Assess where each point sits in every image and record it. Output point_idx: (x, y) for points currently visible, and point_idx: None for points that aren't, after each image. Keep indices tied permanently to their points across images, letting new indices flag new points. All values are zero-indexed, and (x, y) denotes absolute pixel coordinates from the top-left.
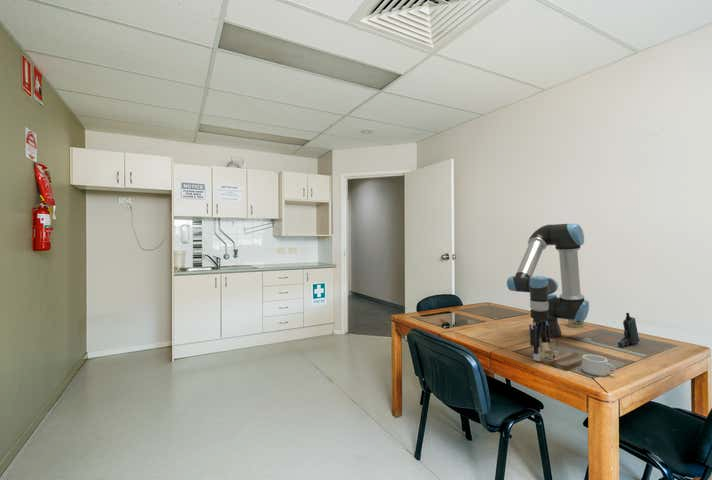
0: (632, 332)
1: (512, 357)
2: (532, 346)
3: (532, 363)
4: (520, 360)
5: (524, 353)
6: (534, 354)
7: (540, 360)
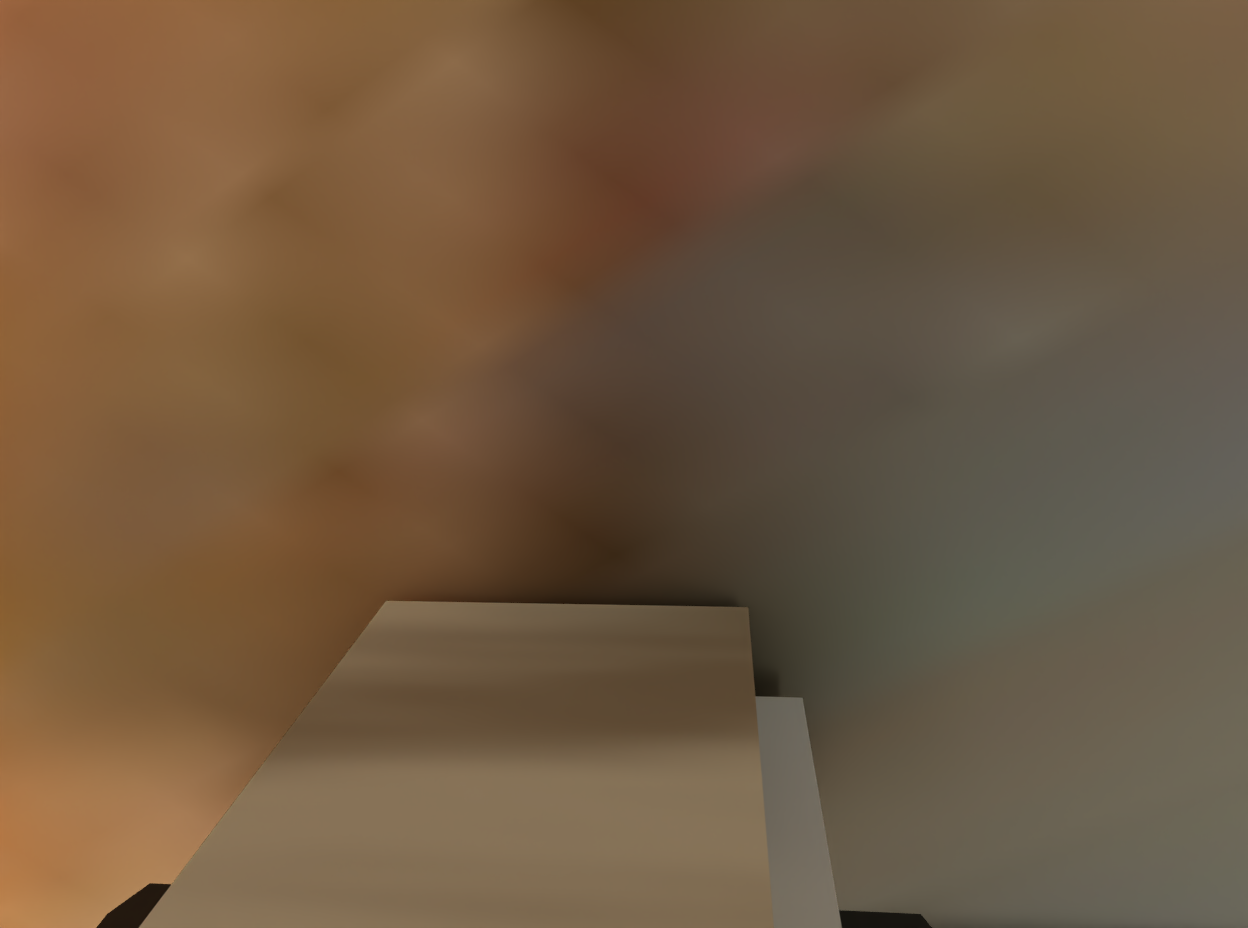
0: None
1: (5, 40)
2: (164, 913)
3: (141, 728)
4: (24, 387)
5: (776, 34)
6: None
7: None
